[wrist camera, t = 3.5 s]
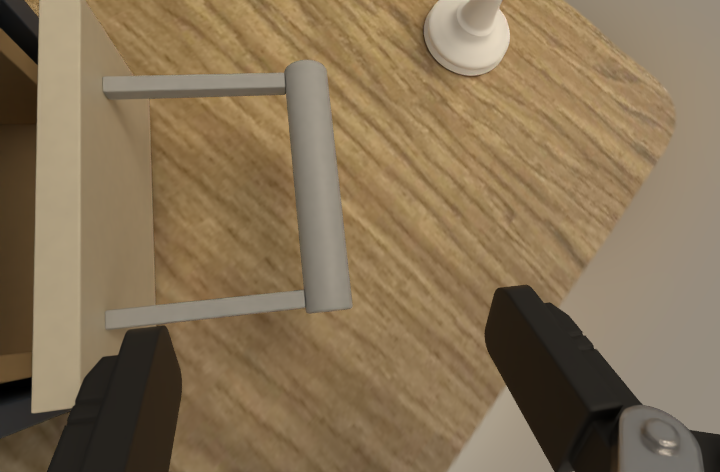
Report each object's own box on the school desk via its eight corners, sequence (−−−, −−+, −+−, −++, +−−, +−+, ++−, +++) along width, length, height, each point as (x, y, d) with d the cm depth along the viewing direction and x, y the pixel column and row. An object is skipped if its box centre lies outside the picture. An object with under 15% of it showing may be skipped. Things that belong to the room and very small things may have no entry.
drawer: (315, 94, 22) (325, -7, 15) (342, 352, 20) (367, 367, 13) (-225, 110, 18) (-531, -15, 11) (-269, 432, 16) (-681, 512, 9)
